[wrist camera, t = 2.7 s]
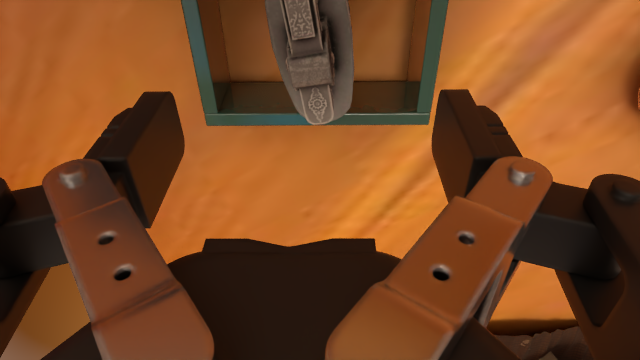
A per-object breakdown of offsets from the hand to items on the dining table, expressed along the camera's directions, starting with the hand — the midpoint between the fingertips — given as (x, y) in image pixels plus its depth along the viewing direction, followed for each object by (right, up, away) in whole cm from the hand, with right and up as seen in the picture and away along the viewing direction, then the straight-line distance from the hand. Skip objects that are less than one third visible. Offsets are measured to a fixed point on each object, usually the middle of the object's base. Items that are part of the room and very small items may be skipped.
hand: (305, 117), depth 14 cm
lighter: (0, +9, +11) cm, 14 cm away
